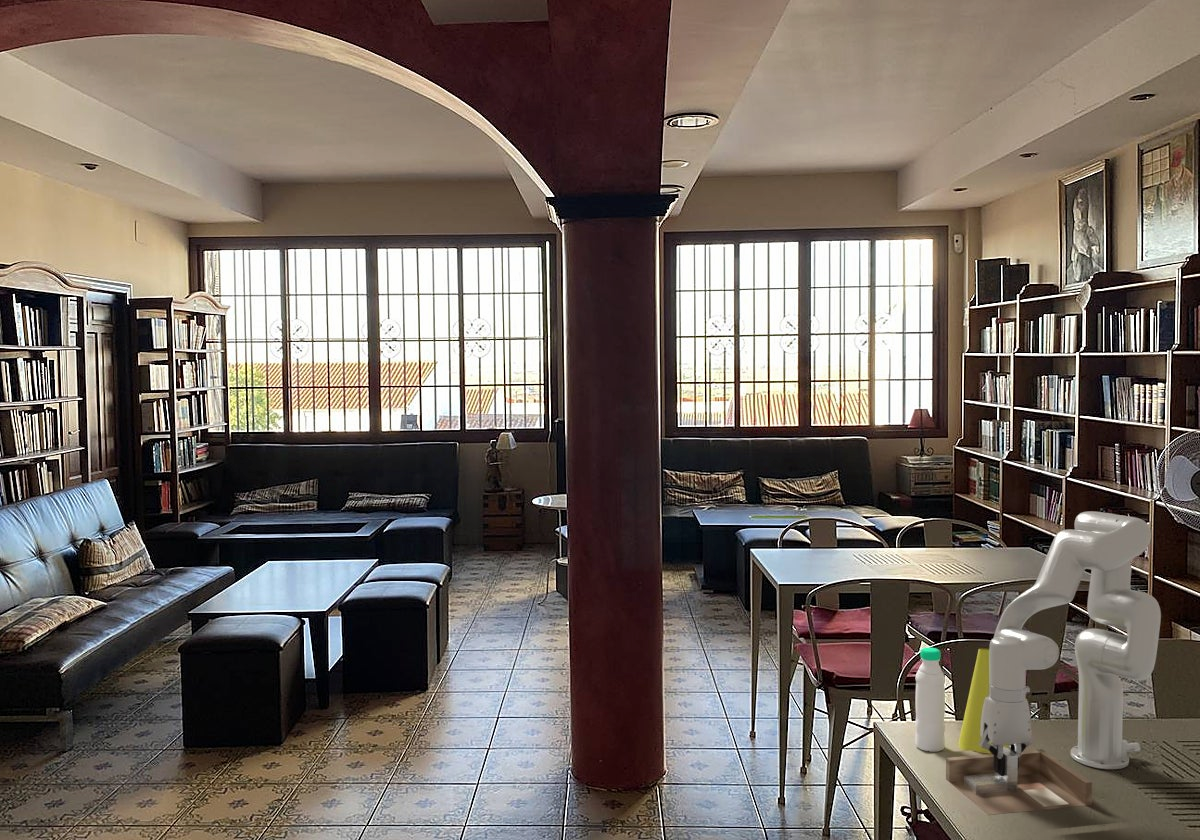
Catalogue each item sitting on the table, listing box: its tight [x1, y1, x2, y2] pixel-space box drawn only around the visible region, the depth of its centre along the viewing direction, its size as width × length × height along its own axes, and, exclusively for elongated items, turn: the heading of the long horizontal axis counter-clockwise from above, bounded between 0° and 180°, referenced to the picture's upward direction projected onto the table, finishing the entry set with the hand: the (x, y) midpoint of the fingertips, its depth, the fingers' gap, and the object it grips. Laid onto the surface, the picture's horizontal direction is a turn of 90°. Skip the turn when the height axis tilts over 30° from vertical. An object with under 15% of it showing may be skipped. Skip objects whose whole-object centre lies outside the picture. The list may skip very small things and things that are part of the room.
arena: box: [945, 749, 1093, 816], centre depth 222 cm, size 24×18×6 cm
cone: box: [957, 648, 1010, 754], centre depth 248 cm, size 12×12×25 cm
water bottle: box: [914, 646, 946, 753], centre depth 249 cm, size 7×7×25 cm
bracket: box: [964, 747, 1018, 794], centre depth 224 cm, size 10×5×8 cm, turn 99°
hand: (1005, 772), depth 225 cm, fingers closed on bracket, 2 cm apart
